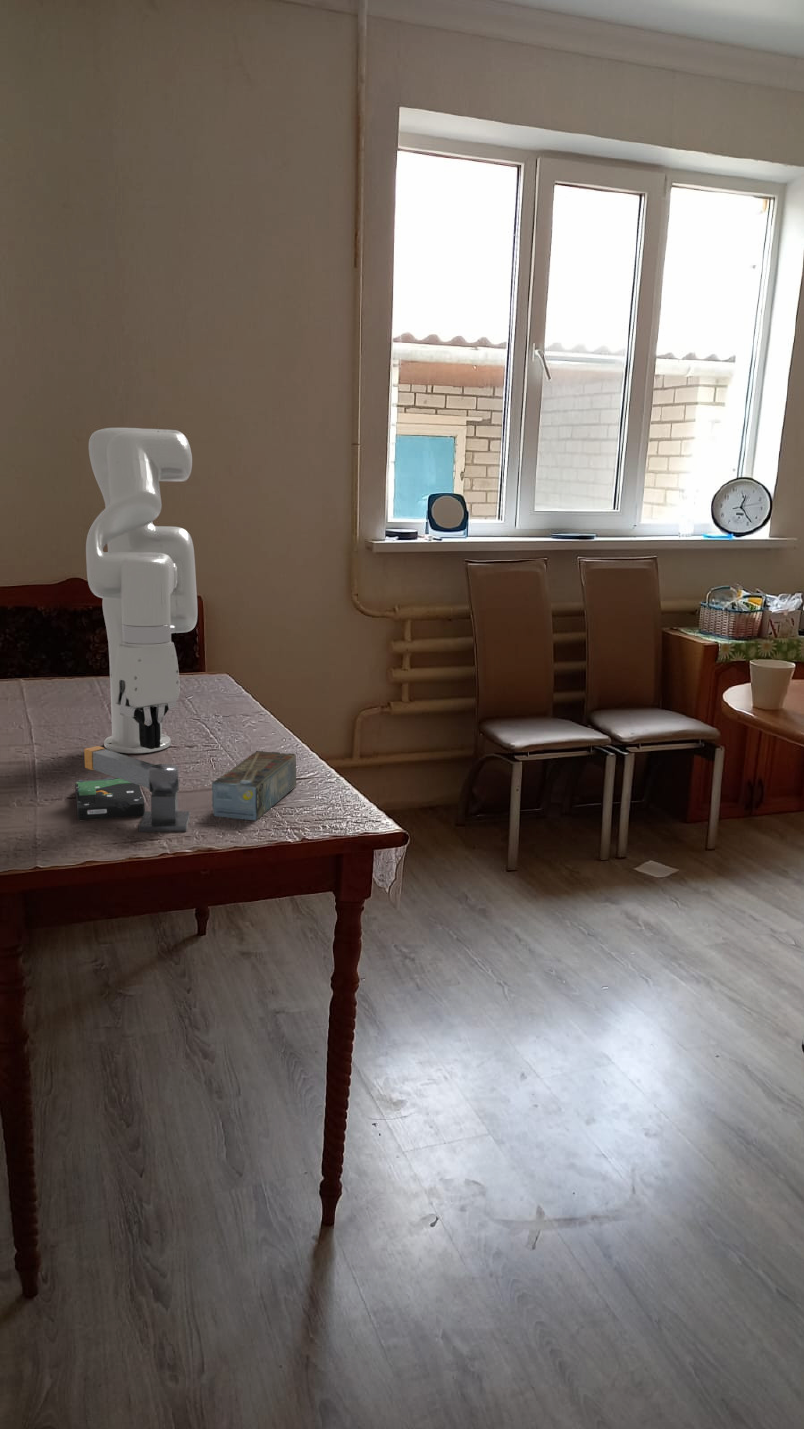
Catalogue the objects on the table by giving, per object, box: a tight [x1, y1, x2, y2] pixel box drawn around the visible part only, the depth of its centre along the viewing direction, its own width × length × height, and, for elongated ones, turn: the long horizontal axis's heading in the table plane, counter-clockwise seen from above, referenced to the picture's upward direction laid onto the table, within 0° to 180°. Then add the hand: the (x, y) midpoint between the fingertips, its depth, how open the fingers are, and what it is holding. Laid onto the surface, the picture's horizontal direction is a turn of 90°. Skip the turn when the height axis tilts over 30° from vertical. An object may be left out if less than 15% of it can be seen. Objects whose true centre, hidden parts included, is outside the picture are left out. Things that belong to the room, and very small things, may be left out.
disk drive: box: [74, 777, 146, 821], centre depth 171 cm, size 10×3×15 cm
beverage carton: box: [211, 750, 297, 821], centre depth 174 cm, size 8×19×7 cm, turn 166°
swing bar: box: [83, 745, 180, 794], centre depth 166 cm, size 21×4×4 cm, turn 51°
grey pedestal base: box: [138, 791, 191, 833], centre depth 162 cm, size 7×7×5 cm
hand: (150, 746), depth 171 cm, fingers closed
